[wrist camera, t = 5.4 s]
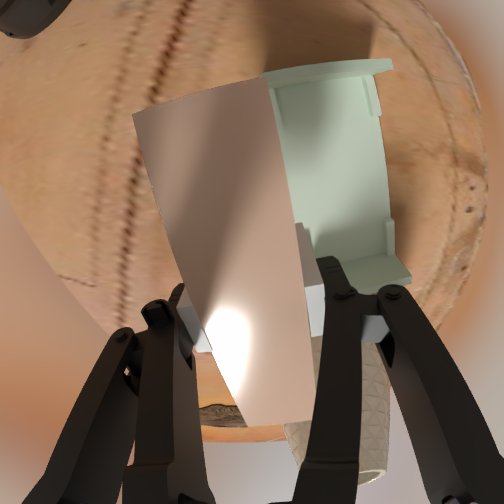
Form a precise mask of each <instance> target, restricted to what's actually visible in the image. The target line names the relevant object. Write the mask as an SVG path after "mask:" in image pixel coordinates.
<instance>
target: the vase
mask: <svg viewBox="0 0 504 504" xmlns="http://www.w3.org/2000/svg"><path fill="white" fill-rule="evenodd" d="M309 330H310V327H309ZM322 337H323V335H321V336H316V337H311V332H310V339H311V348H312V358H313V368H314V378H315V390H316V389H317V382H318V374H319V365H320V357H321V347H322ZM361 346H362V418H361V437H360V451H359V477H358V486H362V485H365V484H368V483H370V482H372V481H375V480H377V479H379V478H380V477H382V476H383V475H384V474H385V473H386V471H387V461H388V447H389V446H388V445H389V425H390V424H389V423H390V422H389V421H390V382H389V377H388V375H387V372H386V370H385V367H384V365H383V362H382V360H381V357H380V355H379V352H378V350H377V347H376V345H375V343H372V342H361ZM311 422H312V420H308V421H301V422H294V423H285V424H281V425H282V428H283V431H284V433H285V436H286V438H287V441H288V443H289V446H290V448H291V451H292V453H293V456H294V458H295V461H296V463H297V466H298V468H299V470H300V467H301V464H302V462H303V461H304V458H305V455H306V450H307V445H308V439H309V434H310V428H311ZM358 486H357V487H358Z"/></svg>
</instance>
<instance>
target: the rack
mask: <svg viewBox="0 0 504 504" xmlns="http://www.w3.org/2000/svg"><path fill="white" fill-rule="evenodd" d="M392 69H394V68H393V64H392V60H391V59H360V60H345V61H334V62H325V63H317V64H310V65H303V66H296V67H290V68H285V69H279V70H274V71H269V72H265V73H261V77H266V80H267V84H268V89H269V93H270V97H271V102H272V106H273V111H274V116H275V120H276V125H277V130H278V135H279V140H280V145H281V150H282V155H283V160H284V165H285V170H286V176H287V181H288V187H289V192H290V198H291V204H292V210H293V216H294V221H295V223H300V222H302V223H303V226H304V229H305V231H306V234H307V237H308V240H309V242H310V245H311V248H312V251H313V254H314V257H315V259H316V258H321V257H326V256H331V255H332V256H334V257H335V258H337V259H338V260H339V262H340V264H341V266H342V268H343V271H344V272H345V274H346V277H347V279H348V281H349V283H350V285H351V286H353V287H354V288H355V289H357V291H358V293H360V294H365V295H370V294H374V293H378V290H379V289H380V288H381V287H383V286H385V285H389V284H397V285H401V286H404V285H407V284H411V283H412V275H411V274H410V272H409V271H408V270H407V268H406V267H405V266H404V265H403V263H402V262H401V261H400V260H399V259H398V257H397V256H396V255H395V229H394V220H393V219H392V218H391V213H390V199H389V188H388V178H387V169H386V161H385V153H384V146H383V140H382V134H381V128H380V122H379V117H378V116H382V114H381V109H380V104H379V99H378V94H377V90H376V86H375V82H374V78H373V75H374V74H378V73H381V72H385V71H388V70H392Z"/></svg>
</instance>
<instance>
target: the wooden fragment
mask: <svg viewBox="0 0 504 504" xmlns="http://www.w3.org/2000/svg"><path fill="white" fill-rule="evenodd" d="M199 415H200V425H207V426H215V427H248V426H247V424H246V422H245V420H244V418H243V416H242V414H241V412H240V410H239V408H238V406H227V407H226V406H224V405H214V406H213V405H212V406H210V407H207V408H203V409H199Z"/></svg>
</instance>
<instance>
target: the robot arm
mask: <svg viewBox="0 0 504 504" xmlns="http://www.w3.org/2000/svg"><path fill="white" fill-rule="evenodd" d="M70 1H71V0H0V31H1V32H3V33H5V34H6V35H7V36H9V37H11V38H18V39H27V38H30V37H33V36H35V35H37V34H38V33H40V32H41V31H43V30H44V29H45V28H47V27H48V26H49V25H50V24H51V23H52V22H53V21H54V20H55V19H56V18H57V17H58V16H59V15H60V14H61V13H62V11H63V10H64V9H65V8H66V6H67V5H68V4H69V2H70ZM295 228H296V234H297V241H298V247H299V254H300V261H301V267H302V275H303V282H304V289H305V297H306V305H307V313H308V321H309V327H310V332H311V337H316V336H321V335H323V337H322V347H321V357H320V365H319V374H318V382H317V389H316V396H315V403H314V410H313V416H312V422H311V428H310V434H309V439H308V445H307V450H306V455H305V458H304V461H303V462H302V464H301V467H300V470H299V474H298V478H297V482H296V486H295V491H294V495H293V499H292V501H289V502H275V503H269V504H355V500H356V493H357V486H358V477H359V451H360V437H361V418H362V346H361V342H372V343H375V345H376V347H377V350H378V352H379V355H380V357H381V360H382V362H383V365H384V367H385V370H386V372H387V375H388V377H389V380H390V382H391V385H392V388H393V390H394V393H395V396H396V398H397V401H398V404H399V407H400V410H401V412H402V415H403V418H404V421H405V424H406V427H407V430H408V433H409V436H410V439H411V442H412V446H413V449H414V452H415V455H416V459H417V462H418V466H419V469H420V472H421V476H422V480H423V484H424V487H425V490H426V493H427V496H428V499H429V501H430V503H431V504H504V458H503V457H502V456H501V455H500V454H499V452H498V449H497V447H496V444H495V442H494V440H493V437H492V435H491V432H490V430H489V428H488V426H487V423H486V421H485V419H484V417H483V415H482V413H481V411H480V409H479V407H478V405H477V403H476V401H475V399H474V397H473V395H472V393H471V391H470V389H469V387H468V385H467V383H466V382H465V380H464V378H463V376H462V374H461V373H460V371H459V369H458V367H457V366H456V364H455V362H454V360H453V359H452V357H451V355H450V354H449V352H448V350H447V349H446V347H445V346H444V344H443V342H442V341H441V339H440V337H439V336H438V334H437V333H436V331H435V330H434V328H433V326H432V325H431V323H430V322H429V320H428V319H427V317H426V316H425V314H424V313H423V311H422V310H421V308H420V307H419V306H418V304H417V303H416V301H415V300H414V298H413V297H412V296H411V294H410V293H409V291H408V290H407V289H406V288H405V287H403V286H401V285H397V284H389V285H385V286H383V287H381V288H380V289H379V290H378V293H377V295H365V294H360V293H358V291H357V289H355V288H354V287H353V286H351V285H350V283H349V281H348V279H347V277H346V274H345V272H344V271H343V268H342V266H341V264H340V262H339V260H338V259H337V258H335V257H334V256H332V255H331V256H326V257H321V258H316V259H315V257H314V254H313V251H312V248H311V245H310V242H309V240H308V237H307V234H306V231H305V229H304V226H303V223H302V222H300V223H295ZM168 301H169V302H167V301H166V300H163V299H158V300H154V301H152V302H150V303H148V304H146V305H145V306H144V307H143V308H142V310H141V313H142V315H143V317H144V319H145V321H146V323H147V325H148V330H145V331H142V332H139V333H136V334H135V333H134V331H133V329H131V328H130V327H124V328H120V329H118V330H117V331H116V332H114V333H113V334H112V336H111V337H110V339H109V340H108V342H107V344H106V346H105V347H104V349H103V351H102V353H101V355H100V356H99V358H98V360H97V362H96V364H95V366H94V367H93V369H92V371H91V373H90V375H89V377H88V379H87V381H86V383H85V385H84V386H83V388H82V391H81V393H80V394H79V397H78V398H77V400H76V402H75V404H74V407H73V409H72V411H71V413H70V415H69V417H68V419H67V422H66V424H65V426H64V428H63V430H62V433H61V435H60V437H59V439H58V441H57V444H56V446H55V448H54V451H53V453H52V456H51V458H50V460H49V463H48V465H47V468H46V471H45V473H44V475H43V476H42V478H41V479H40V480H39V481H38V483H37V484H36V485H35V486H34V488H33V489H32V490H31V492H30V493H29V494H28V496H27V497H26V498H25V499H24V501H23V502H22V504H116V502H117V499H118V496H119V492H120V488H121V484H123V485H122V504H216V502H215V498H214V496H213V494H212V492H211V490H210V488H209V485H208V481H207V475H206V467H205V460H204V452H203V443H202V434H201V425H200V415H199V404H198V392H197V379H196V364H195V357H194V355H193V353H192V349H193V345H194V346H195V348H196V350H197V352H198V353H199V352H210V351H213V349H212V347H211V345H210V342H209V340H208V338H207V336H206V333H205V331H204V329H203V326H202V324H201V322H200V319H199V317H198V315H197V312H196V310H195V308H194V305H192V302H191V300H190V297H189V295H188V292H187V290H186V287H185V284H184V283H180V284H178V285H177V286H176V287H175V288H174V289H173V291H172V293H171V297H170V298H169V300H168ZM126 368H127V369H128V370H129V373H128V375H126V374H125V373H124V371H125V369H126ZM134 441H135V453H134V463H133V464H132V465H130V466H127V464H128V460H129V457H130V453H131V450H132V447H133V443H134ZM122 481H123V483H122Z"/></svg>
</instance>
